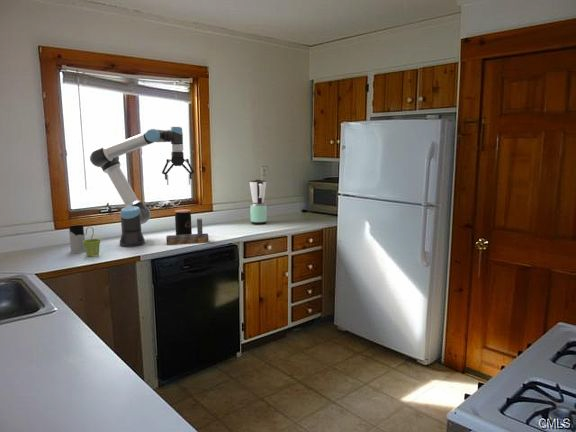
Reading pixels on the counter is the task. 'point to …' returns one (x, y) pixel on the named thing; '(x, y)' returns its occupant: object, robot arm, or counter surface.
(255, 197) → the mint green blender
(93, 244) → the plant pot
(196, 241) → the block
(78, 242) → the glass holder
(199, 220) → the fader
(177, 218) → the coffee jar
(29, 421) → the counter surface
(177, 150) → the robot arm
